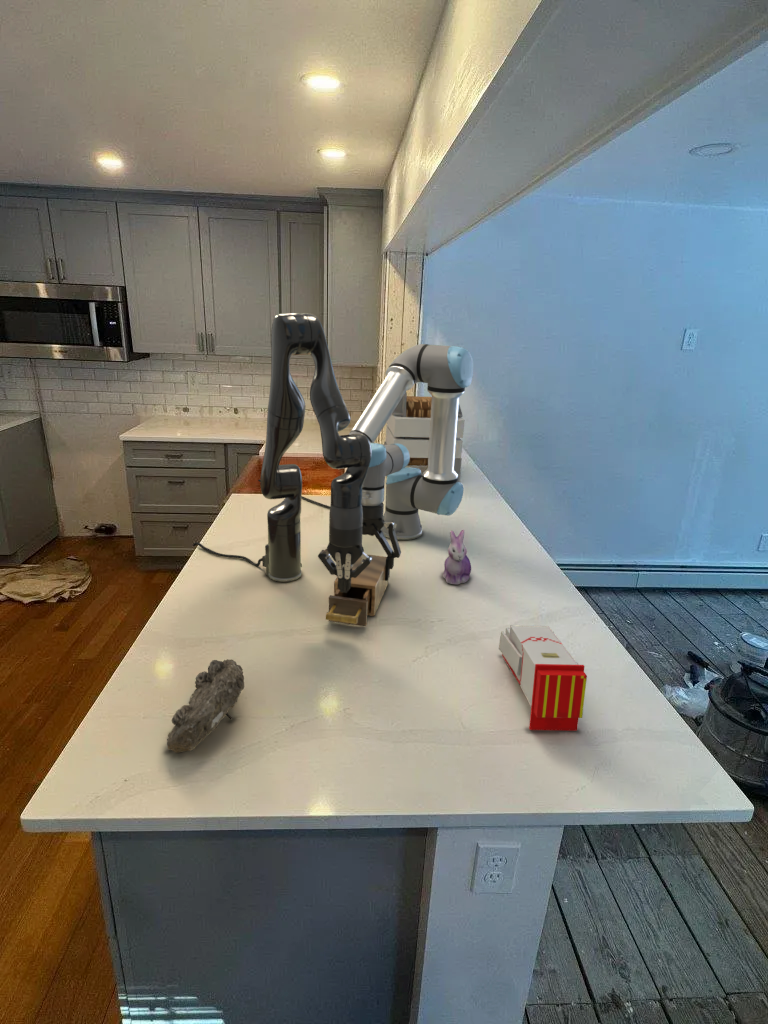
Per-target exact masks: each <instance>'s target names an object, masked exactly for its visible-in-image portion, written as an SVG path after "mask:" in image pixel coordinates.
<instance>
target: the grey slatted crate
mask: <svg viewBox="0 0 768 1024" xmlns="http://www.w3.org/2000/svg"><path fill="white" fill-rule="evenodd" d="M407 394H408V393H407V391H406V392H405V394H404V395H403V397H402V398H401V400H400V402H399V403H398V405H397V406H396V408H395V410H394V411H393V413H392V414H391V416H390V418H389V419H388V421H387V422H386V425H385V426H386V428H385V438H384V442H383V444H384V445H391V444H402V445H404V446H405V447H406V448H407V450H408V451H409V455H410V460H409V463H408V465H407V466H406V467H409V466H411V467H415V466H416V467H417V466H418V467H428V454H429V436H430V419H431V402H432V396H415V395H414V396H413V395H412V396H411V395H407ZM464 429H465V419H464V418H463V411H462V408H461V405H460V404H459V407H458V420H457V434H456V447H455V460H454V471H455V472H456V473H457V474H458V482H460V483H461V472H462V461H463V460H462V453H463V442H464V441H463V440H462V439H463V438H464V431H465V430H464Z"/></svg>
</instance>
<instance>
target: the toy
mask: <svg viewBox="0 0 768 1024" xmlns="http://www.w3.org/2000/svg"><path fill="white" fill-rule="evenodd" d="M499 635H500V636H499V643H498V650H499V652H500V653H501V657H502V658H503V660H504V662H505V663H506V665H507V667H508V669H509V670H510V671H511V673H512V675H513V676H514V678H515V680H516V681H517V683H518V685H520V689H521V691H522V692H523V695H524V696H525V698H526V700H527V702H528V704H529V706H530V715H529V725H528V729H529V731H562V732H563V731H569V732H570V731H572V732H577V731H578V727H579V719H582V718H583V713H584V705H585V697H586V689H587V688H586V687H587V678H588V675H587V673H586V672H585V665H584V664H579V663H578V662H577V661H576V660H575V658H574V657H573V656H572V654H571V653H570V652H569V651H568V649H567V648H566V646H565V645H564V644H563V643H562V642H561V640H560V639H559V637H558V636H557V635H556V633H555V632H554V631H553V630H552V629H551V627H550V626H549V625H516V624H515V625H514V624H513V625H512V624H511V625H510V626H509V627H505V632H504V631H500V634H499Z"/></svg>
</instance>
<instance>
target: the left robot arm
mask: <svg viewBox="0 0 768 1024" xmlns="http://www.w3.org/2000/svg"><path fill="white" fill-rule="evenodd" d="M270 332H271V333H270V367H271V368H270V383H269V396H268V403H267V415H266V433H265V434H266V436H265V447H264V451H263V452H264V453H263V458H262V463H261V464H262V465H261V470H260V479H259V480H260V482H259V483H260V491H261V494H262V496H263V497H264V498H265V499H267V500H279V499H283V500H282V501H281V502H280V503H278V504H277V505H274V506H272V507H271V508H269V509H268V511H267V514H266V520H267V521H266V522H267V544H265V547H264V550H265V551H264V553H265V555H263V556H261V558H259V559H258V560H257V563H255V562H253V561H252V559H250V558H248V557H246V556H244V555H237V554H226V553H225V554H223V553H220V552H217V551H214V550H212V549H210V548H208V547H206V546H205V545H203V544H202V543H201V542H199V541H198V542H194V543H193V544H192V546H193V547H196V546H198V547H200V548H201V549H202V550H204V551H206V552H208V553H210V554H212V555H215V556H219V557H222V558H230V559H231V558H232V559H239V560H240V559H242V560H245V561H246V562H247V563H249V564H251V565H252V566H254V567H259V566H260V565H261V563H262V567H264V568H265V576H267V577H269V579H270V580H272V581H274V582H279V583H280V582H281V583H290V582H293V581H296V580H298V579H300V578H301V576H302V543H301V542H302V539H301V538H302V537H301V535H302V533H301V516H302V515H301V514H302V497H303V475H302V471H301V469H300V467H299V466H298V465H297V464H296V463H287V464H286V463H285V464H280V463H281V460H282V459H283V457H284V455H285V453H286V452H287V451H288V450H289V449H290V447H292V446H293V444H294V443H295V442H296V440H297V439H298V438H299V436H300V435H301V433H302V431H303V428H304V425H305V417H306V402H305V398H304V396H303V394H302V393H301V391H300V389H299V387H298V386H297V384H296V382H295V381H294V378H293V376H292V373H291V368H290V367H291V364H290V363H291V358H292V356H307V355H310V357H311V359H312V361H313V364H314V372H313V376H312V380H311V384H310V389H309V400H310V405H311V407H312V410H313V412H314V415H315V418H316V420H317V422H318V425H319V431H320V438H321V448H322V449H321V450H322V457H323V460H324V462H325V463H326V464H327V465H328V467H330V468H331V469H333V470H341V469H346V470H345V472H343V473H342V474H341V475H338V476H336V477H335V478H333V479H332V480H331V482H330V505H329V506H330V508H329V512H328V513H329V514H328V515H329V516H328V517H329V518H328V530H329V531H328V545H326V548H325V549H322V550H320V552H319V553H318V555H317V557H318V559H319V561H320V562H321V563H322V564H323V566H324V567H325V568H326V570H327V571H328V573H329V574H330V575H331V576H336V578H337V577H338V589H339V590H340V592H344V593H347V591H349V589H350V588H351V578H352V577H353V578H356V577H357V576H358V575H359V574H360V573H361V572H362V571H363V570H364V569H365V568H366V567H367V566H368V565H369V564H370V562H371V560H372V556H368V555H369V554H368V553H365V549H364V547H363V535H362V527H363V509H362V492H363V484H364V481H365V478H366V474H367V471H368V468H369V465H370V461H371V456H372V448H371V444H370V441H369V440H368V438H367V437H366V436H365V435H363V434H351V435H348V434H342V435H340V434H339V432H341V431H344V430H345V429H346V428H347V427H348V426H349V425H350V424H351V415H350V412H349V410H348V407H347V404H346V402H345V399H344V398H343V396H342V393H341V390H340V388H339V385H338V382H337V379H336V375H335V371H334V367H333V362H332V357H331V354H330V349H329V345H328V343H327V342H328V341H327V338H326V334H325V330H324V328H323V325H322V322H321V320H320V319H319V317H318V316H317V315H316V314H314V313H310V312H292V313H291V312H284V313H283V312H282V313H278V314H276V315H275V316H274V318H273V321H272V324H271V331H270ZM367 554H368V555H367ZM360 557H361V561H360V562H361V564H360V565H359V566H358V567H357V568H356V569H355V570H353V564H354V563H355V562H356V561H357V560H358V559H359V558H360Z"/></svg>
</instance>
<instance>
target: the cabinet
mask: <svg viewBox="0 0 768 1024" xmlns="http://www.w3.org/2000/svg"><path fill="white" fill-rule="evenodd" d="M366 554H367V555H368V556H372V560H371V562H370V564H369V565H368V566H367V567H366V568H365V569H364V570H363V571H362V572H361V573H360V574H359V575H358V576H357V577H356V578H353V577H352V578H351V586H352V587H360V588H367V589H372V599H371V608H370V610H369V612H368V614H367V616H371V617H375V615H376V613H377V610H378V608H379V607H380V603H381V601H382V600H383V597H384V594H385V592H386V589H387V587H388V585H389V580H388V581H385V569H386V558H387V556H383V555H375V554H368V553H366ZM360 561H361V557H360V558H359V559H358V560H357V561H356V562H355V563H354V564H353V570H355V569H356V568H357V567H358V566H359V565H360V564H361V562H360ZM333 584H334V587H333V596H335V593H336V591H337V589H338V577H337V576H336V578H335V579H334V581H333Z"/></svg>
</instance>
